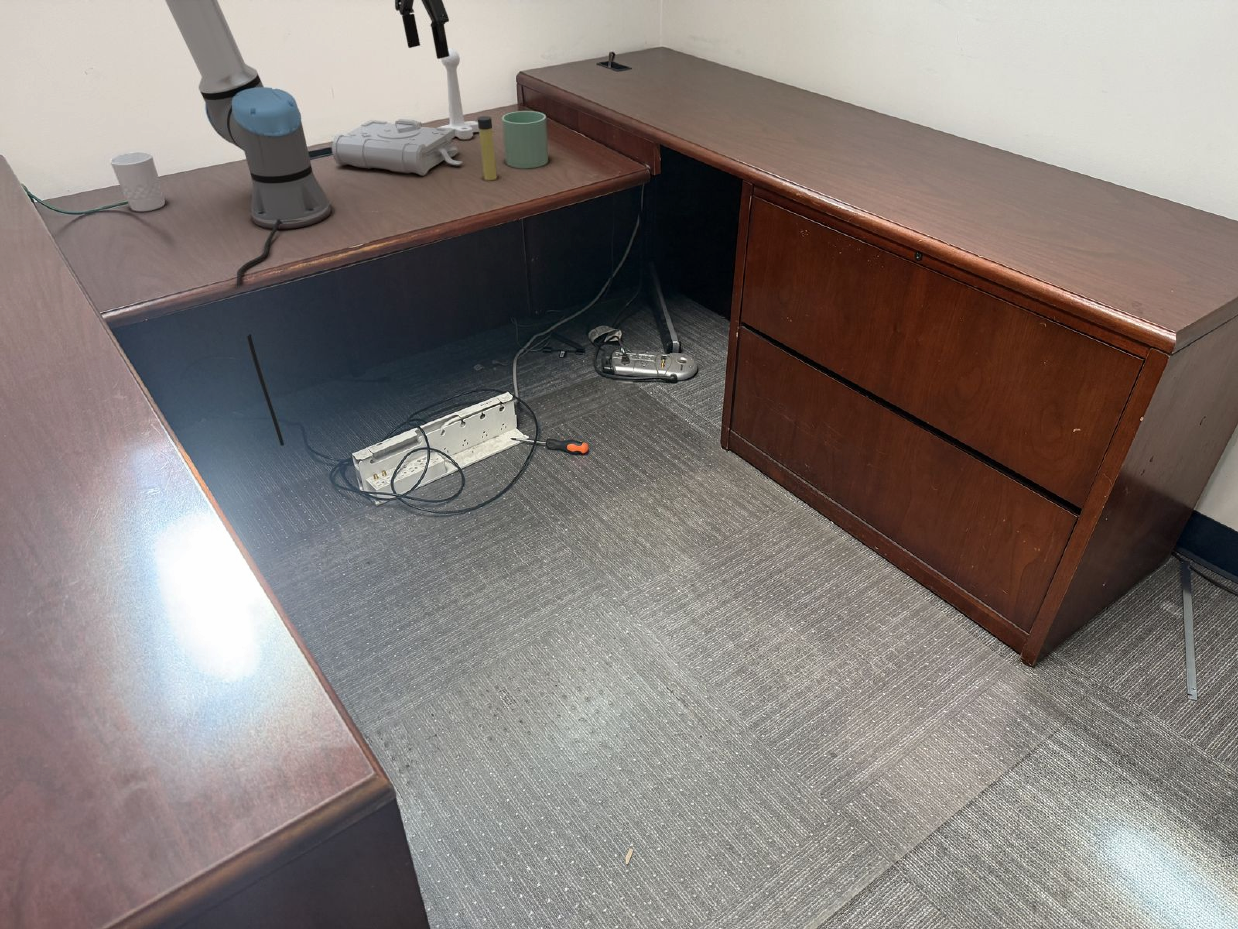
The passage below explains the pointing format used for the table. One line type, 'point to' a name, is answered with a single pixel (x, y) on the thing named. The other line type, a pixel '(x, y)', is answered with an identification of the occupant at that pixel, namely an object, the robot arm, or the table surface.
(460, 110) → the joystick
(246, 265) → the robot arm
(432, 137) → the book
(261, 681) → the table surface
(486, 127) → the marker
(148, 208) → the white cup
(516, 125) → the pen cup
